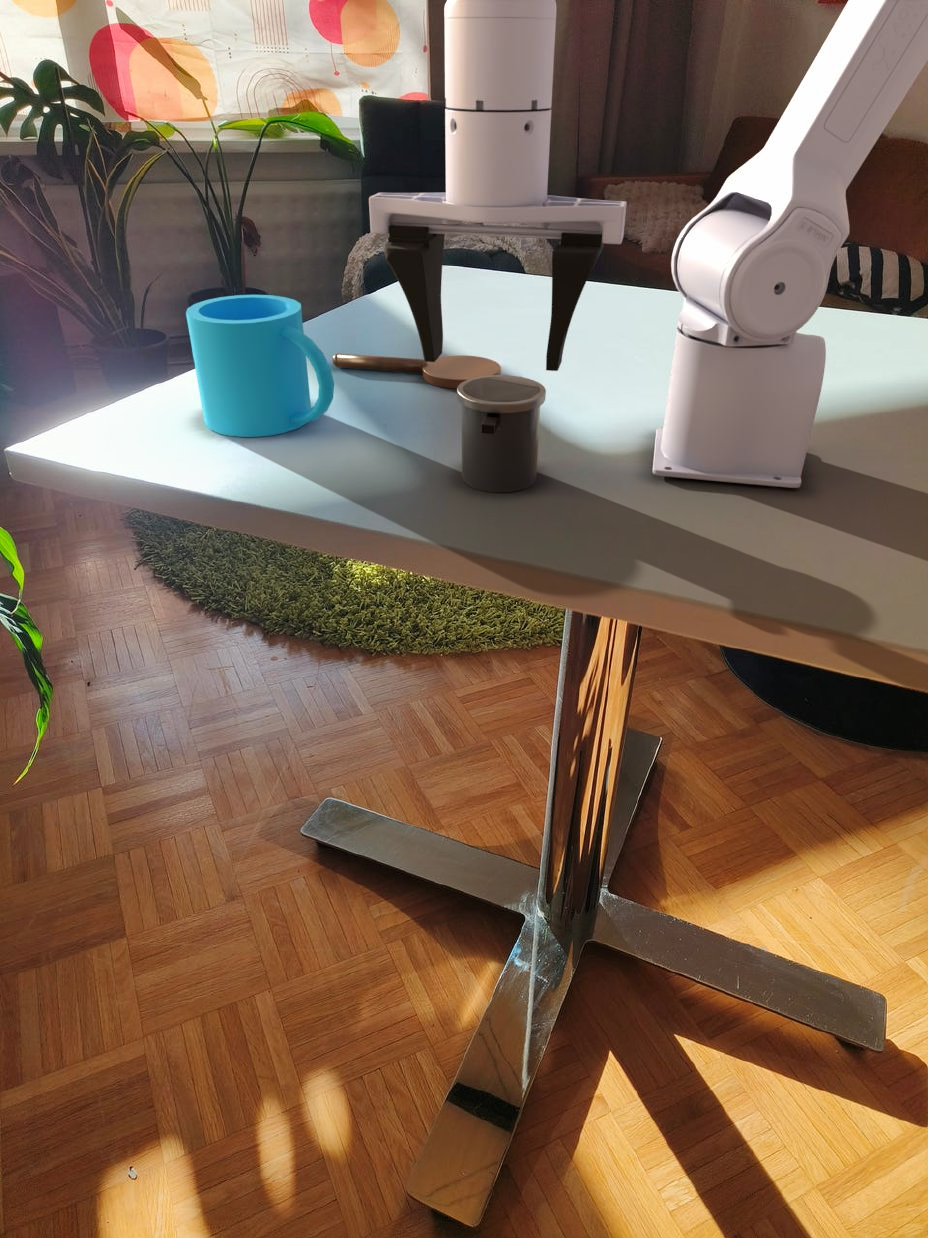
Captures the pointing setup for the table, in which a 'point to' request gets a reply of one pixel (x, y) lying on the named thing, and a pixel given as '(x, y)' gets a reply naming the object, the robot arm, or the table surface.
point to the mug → (255, 365)
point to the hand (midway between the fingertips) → (492, 361)
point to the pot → (500, 431)
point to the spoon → (425, 367)
